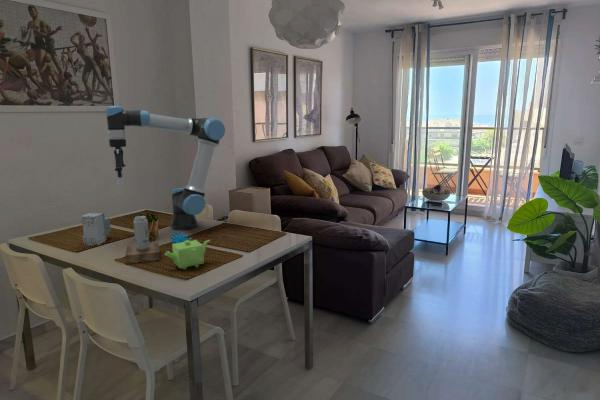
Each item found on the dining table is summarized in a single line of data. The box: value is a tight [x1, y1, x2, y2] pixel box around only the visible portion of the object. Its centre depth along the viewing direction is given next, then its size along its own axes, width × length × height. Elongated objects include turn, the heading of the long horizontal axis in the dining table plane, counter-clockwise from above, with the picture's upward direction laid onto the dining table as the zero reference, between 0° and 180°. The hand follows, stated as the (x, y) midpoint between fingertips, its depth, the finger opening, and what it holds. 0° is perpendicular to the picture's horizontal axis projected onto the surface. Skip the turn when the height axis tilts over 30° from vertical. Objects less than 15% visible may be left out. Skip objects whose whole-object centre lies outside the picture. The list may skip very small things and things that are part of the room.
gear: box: [169, 231, 192, 244], centre depth 201 cm, size 11×6×10 cm
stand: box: [125, 242, 161, 265], centre depth 187 cm, size 14×14×4 cm
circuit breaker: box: [80, 212, 112, 246], centre depth 211 cm, size 8×14×15 cm, turn 174°
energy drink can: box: [133, 215, 151, 251], centre depth 185 cm, size 6×6×15 cm
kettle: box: [164, 239, 211, 270], centre depth 176 cm, size 15×14×11 cm
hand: (121, 181), depth 202 cm, fingers open, 13 cm apart
